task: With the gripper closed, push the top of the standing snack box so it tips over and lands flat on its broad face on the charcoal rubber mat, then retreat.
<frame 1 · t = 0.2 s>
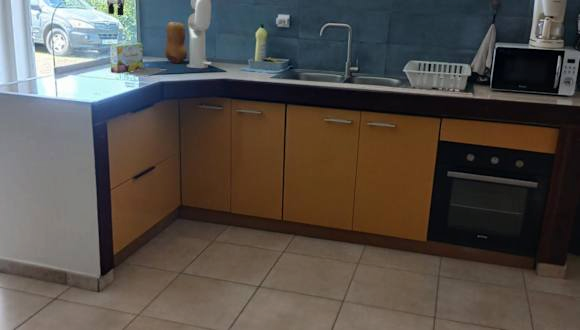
hand: (115, 14, 333), 30 cm above the table, tool pointing down, fingers open, 9 cm apart
butternut squash: (176, 63, 374), on the table
snack box: (127, 71, 339), on the table
mat: (146, 72, 336), on the table
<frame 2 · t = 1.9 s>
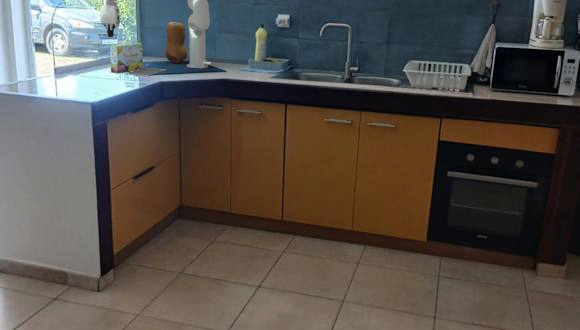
hand: (110, 36, 335), 18 cm above the table, tool pointing down, fingers closed
nothing on the table moved.
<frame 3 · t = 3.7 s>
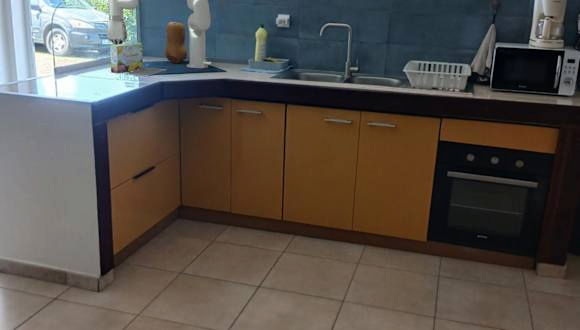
hand: (117, 52, 337), 10 cm above the table, tool pointing down, fingers closed
snack box: (127, 71, 339), on the table, touching gripper
everything else where it was.
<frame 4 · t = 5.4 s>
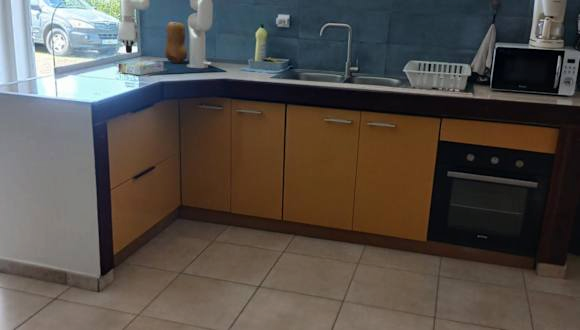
hand: (129, 52, 336), 10 cm above the table, tool pointing down, fingers closed
snack box: (130, 65, 337), point 3 cm above the table, touching mat
everything else where it was.
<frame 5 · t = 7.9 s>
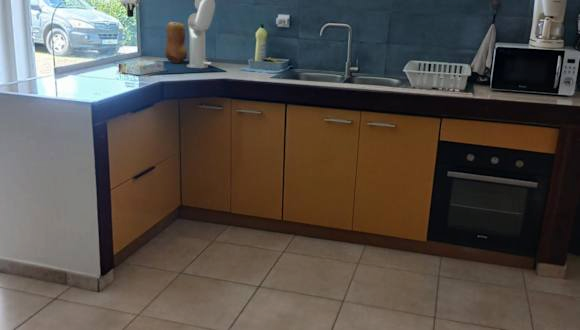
hand: (130, 16, 336), 29 cm above the table, tool pointing down, fingers closed
nothing on the table moved.
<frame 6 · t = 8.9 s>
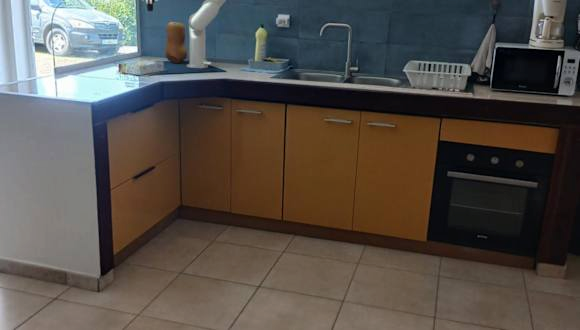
hand: (150, 11, 347), 32 cm above the table, tool pointing down, fingers closed
nothing on the table moved.
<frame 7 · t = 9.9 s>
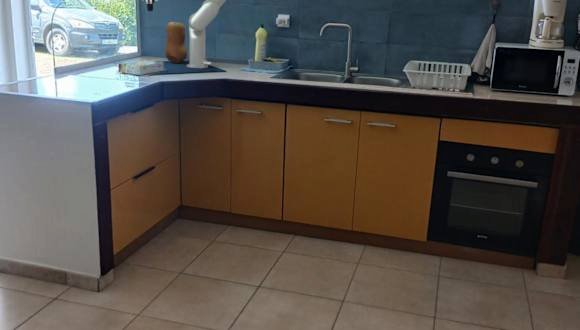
hand: (150, 11, 347), 32 cm above the table, tool pointing down, fingers closed
nothing on the table moved.
at the end: snack box tilted 89°; snack box inside the target area (7.7 cm from its centre), point 3.0 cm above the table; the gripper is holding nothing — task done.
